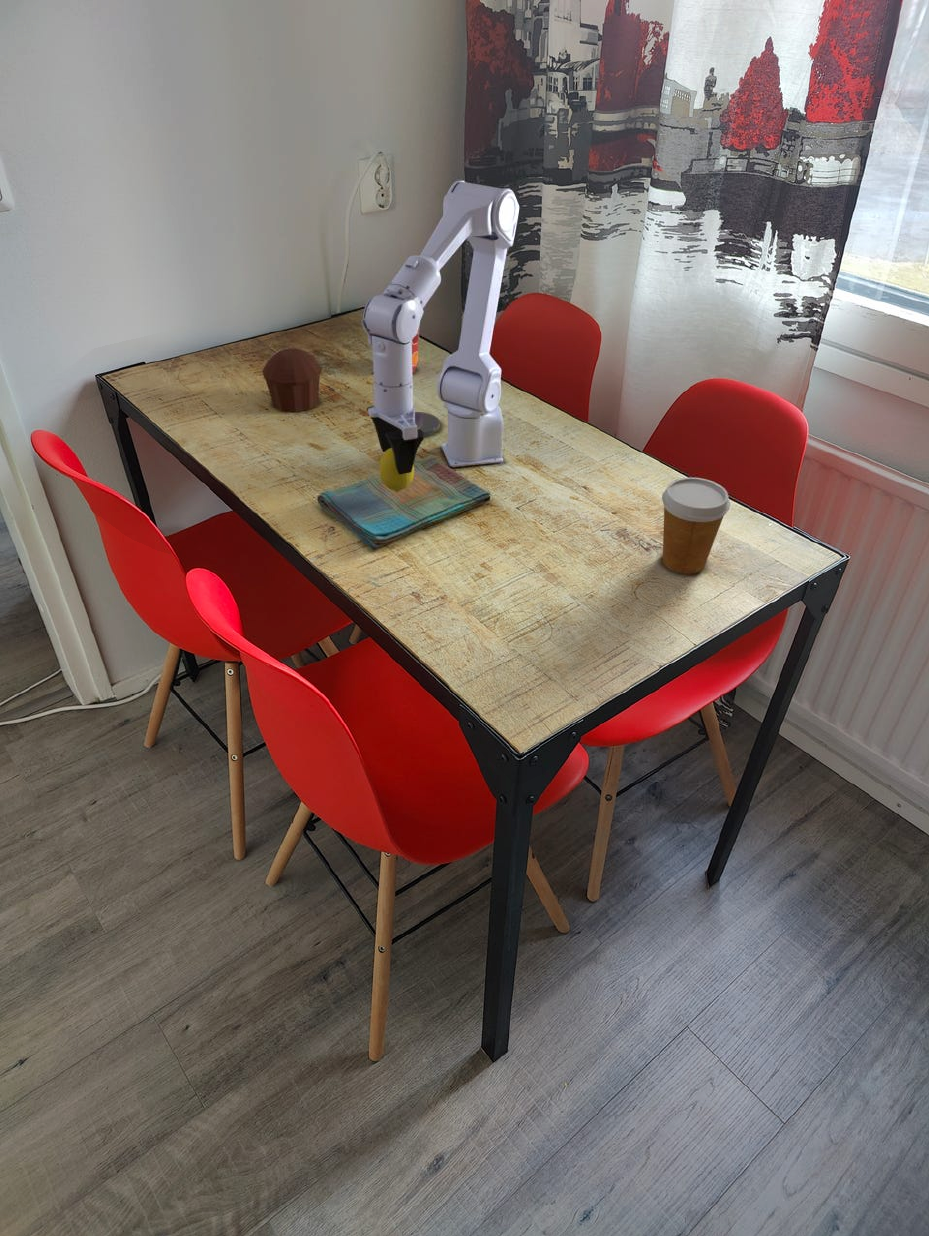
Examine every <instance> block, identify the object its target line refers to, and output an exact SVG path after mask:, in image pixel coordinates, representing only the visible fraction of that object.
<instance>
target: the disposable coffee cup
mask: <svg viewBox="0 0 929 1236" xmlns="http://www.w3.org/2000/svg"><path fill="white" fill-rule="evenodd" d="M661 495H662V496H661V500H662V505H663V531H662V532H663V533H662V535H663V536H662V563H663V565H664V566H665V567H666V568H668V569H669V570H671V571H672V572H676V573H678V574H682V575H683V574H684V575H694V574H697V573H700V572H701V571H703V570H704V569H705V566H706V563H707V561H708V558H709V556H710V553H711V550H712V548H713V545H714V544H715V543H714V542H715V540H716V537H717V535H718V532H719V529H720V527H721V525H722V521H723V519H724V517H725V516H726V514H727V512H729V509H730V507H731V502H730V499H729V493H728V491H727V490H726V488H725V487H724V486H722V485H721V484H719V483H717V482H715V481H713V480H710V479H706V478H701V477H681V478H678V479H675V480H672V481H671V482H670V483H669V484H668V485H667V486H666V488H665V490H664V491H663V492H662V494H661Z"/></svg>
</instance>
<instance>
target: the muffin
mask: <svg viewBox="0 0 929 1236" xmlns="http://www.w3.org/2000/svg"><path fill="white" fill-rule="evenodd" d="M322 372H323V367H322V365H321V363H319V361H318V360H317V358H316V357H315V356H314V355H312V354H311V353H309V352H307V351H306V350H304V349H300V348H296V347H294V348H292V347H291V348H290V347H289V348H283V349H281V350H279V351H277V352H275V353H274V354H273V355H272V356H271V357H270V358H269V359H268V361H267V362H266V364H265V366H264V367H263V369H262V375H263V378H264V380H265V382H266V386H267V389H268V392H269V396H270V398H271V402H272V403H271V404H272V406H273V408H276V409H278V410H279V411H281V412H291V413H292V412H293V413H299V412H302V411H309V410H311V409H312V408H313V407H315V406H317V405H318V404H319V391H320V375H321V374H322Z"/></svg>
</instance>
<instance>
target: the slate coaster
mask: <svg viewBox="0 0 929 1236" xmlns="http://www.w3.org/2000/svg"><path fill="white" fill-rule="evenodd" d="M415 424H416V426H417V430H419V429H421V430H422V431H423V432H424V438H426V437H428V436H431V435H433V434H435V433H437V432H438V431H439V430H440V427H441V426H440V424H441V423H440V419H439V418H438V417H437V416H436V415H434V414H431V413H428V412H423V411H415Z"/></svg>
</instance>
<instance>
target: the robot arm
mask: <svg viewBox="0 0 929 1236" xmlns="http://www.w3.org/2000/svg"><path fill="white" fill-rule="evenodd" d="M519 211H520V205H519V202H518V199H517V197H516V195H515V192H514V191H513V190H512V189H511V188H507V187H506V188H500V187H495V186H489V185H483V184H478V183H472V182H466V181H465V180H463V179H462V180H461V179H459V180H455V181H454V182H453V183H452V184H451V186H450V188H449V189H448V191H447V193H446V195H444V197H443V203H442V214H443V215H442V216H441V218H440V219H439V221H438V223H437V225H436V227H435V229H434V230H433V232H432V234H431V236H430V237H429V239H428V241H427V243H426V244H425V246H424V247H423V249H422V250H421V253H420V254H419V255H415V254H414V255H411V256H408V257H407V259H406V261H405V262H404V263H403V265H402V266H401V267H400V269H399V270H398V273H397V272H396V275H394V277H393V278H392V280H391V281H390V283H389V284H388V286H387V287H386V288H385V290H384V291H383V293H382V294H381V293H380V294H377V295H374V296H373V297H371V298H370V299H369V300H368V301H367V302H366V304H365V305H364V309H363V316H362V318H361V326H362V329H363V331H364V332H365V333H366V335H367V342H368V345H369V347H370V348H371V350H372V368H373V369H372V370H373V385H374V388H373V389H372V391H373V401H374V403H373V405H372V406H369V407H367V408H366V412H367V414H368V415H369V417H370V419H371V421H372V424H373V425H374V428H375V432H376V435H377V439H378V443H379V446H380V449H381V451H382V453H384V452H385V451H387V450H388V449H390V448H392V450H393V454H394V459H395V465H396V469H397V471H398V473H399V474H405V473H410V472H412V468H413V464H414V463H415V459H416V457H417V452H418V449H419V448H420V446H421V444H422V442H423V441H424V440H425V437H424V432H423V431H422V430H421V429H419V430H417V426H416V424H415V412H416V409H415V408H416V406H415V404H414V380H413V379H414V378H413V373H412V339H413V338H414V337H415V336H416V334H417V332H418V329H419V330H420V325H421V319H422V318H423V316H424V308H425V306H426V305H427V304H428V302H429V300H430V299H431V298H432V297H433V295H434V294H435V292H436V290H437V289H438V288H439V286H440V284H441V282H442V276H441V271H440V270H441V269H442V268H443V267H444V266H445V265H446V263H447V262H448V261H449V260H450V259H451V257H452V256H453V255H454V254H455V252H456V251H457V250H458V249H459V248H460V246H461V245H462V244H463V243H464V242H465V240H466V239H467V240H468V242H469V244H470V246H471V247H472V249H473V255H472V262H471V267H470V273H469V280H468V286H467V292H466V293H467V294H466V299H465V305H464V311H463V317H462V323H461V329H460V330H461V331H460V336H459V342H458V343H459V344H458V349H457V350H456V351H455V352H453V353H451V354H450V355H449V354H448V356H447V357H445V358H444V359H443V365H442V369H441V372H440V373H439V376H438V379H437V383H436V393H437V396H438V398H439V400H440V401H442V402H443V408H444V409H446V410H447V443H442V444H441V449H442V451H443V452H444V455H445V458H446V460H447V462H448V465H449V466H450V467H451V468H456V467H457V468H458V467H468V466H476V465H487V464H497V463H502V462H504V458H503V447H504V446H503V445H504V443H503V442H504V419H503V418H504V417H503V413H502V410H501V408H500V406H499V405H498V404H499V403H500V400H501V397H502V384H501V381H502V379H501V378H502V368H501V367H500V365H499V364H498V363H497V362H496V361H495V360H494V358H493V357H492V355H491V354H490V352H491V345H492V339H493V334H494V333H493V332H494V328H495V322H496V316H497V311H498V305H499V298H500V292H501V287H502V282H503V275H504V271H505V264H506V260H507V259H506V258H507V254H508V249H509V248H511V247H513V245H514V240H515V235H516V231H517V224H518V219H519Z"/></svg>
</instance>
